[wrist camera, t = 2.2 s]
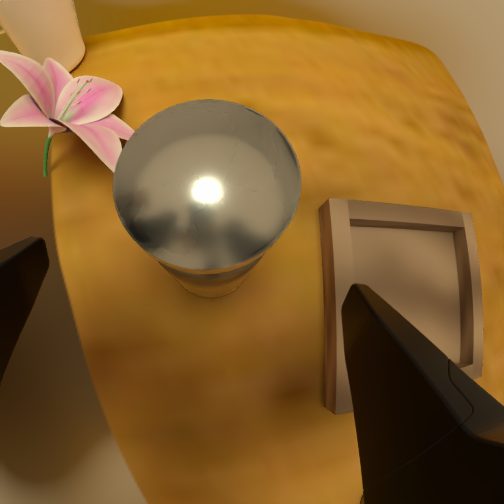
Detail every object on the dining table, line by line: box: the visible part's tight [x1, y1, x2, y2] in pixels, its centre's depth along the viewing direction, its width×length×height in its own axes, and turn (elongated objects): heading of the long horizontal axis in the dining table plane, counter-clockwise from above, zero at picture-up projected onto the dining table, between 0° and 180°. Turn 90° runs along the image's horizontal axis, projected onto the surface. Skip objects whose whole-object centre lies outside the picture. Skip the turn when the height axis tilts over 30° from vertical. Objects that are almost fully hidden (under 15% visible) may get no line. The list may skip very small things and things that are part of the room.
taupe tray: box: [319, 198, 483, 415], centre depth 18 cm, size 12×12×2 cm
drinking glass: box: [0, 0, 85, 72], centre depth 13 cm, size 7×7×15 cm
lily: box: [0, 50, 135, 177], centre depth 15 cm, size 12×12×10 cm
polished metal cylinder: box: [113, 99, 301, 298], centre depth 13 cm, size 5×5×11 cm
